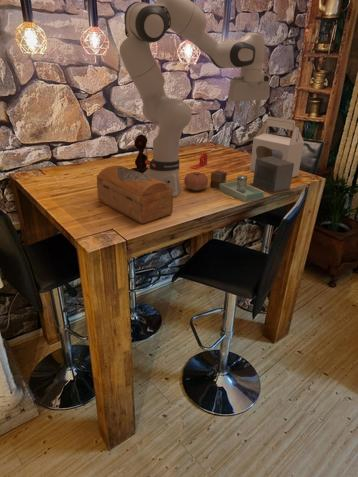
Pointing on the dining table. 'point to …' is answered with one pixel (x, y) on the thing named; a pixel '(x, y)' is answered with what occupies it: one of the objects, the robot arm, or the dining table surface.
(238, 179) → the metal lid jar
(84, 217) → the dining table surface
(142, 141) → the dark statuette
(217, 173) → the walnut block
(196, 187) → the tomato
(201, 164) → the bracket
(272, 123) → the gable box
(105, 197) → the wooden box
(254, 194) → the tray
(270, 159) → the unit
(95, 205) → the dining table surface
